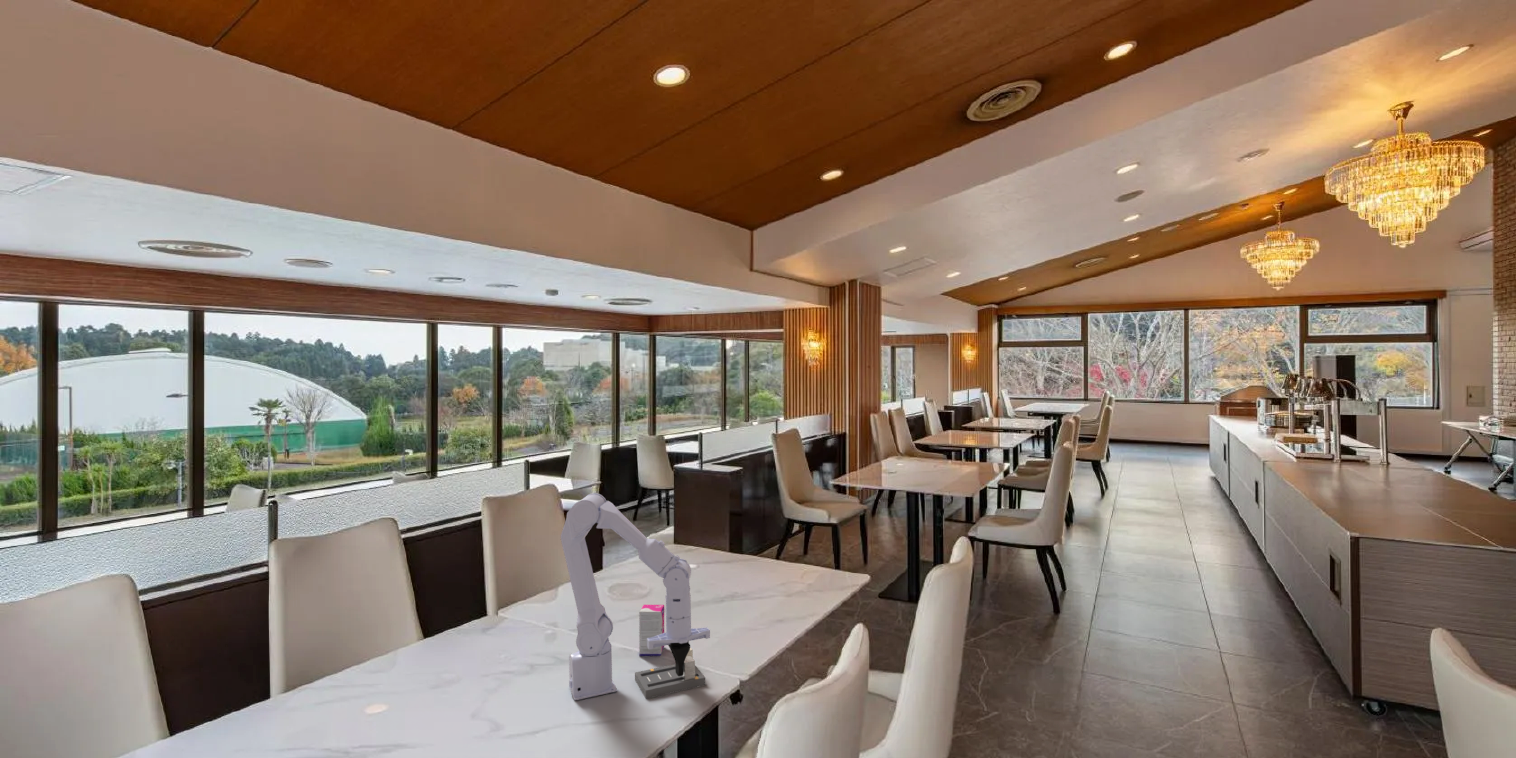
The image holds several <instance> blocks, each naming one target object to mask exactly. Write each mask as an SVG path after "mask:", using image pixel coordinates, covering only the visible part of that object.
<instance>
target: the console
mask: <svg viewBox="0 0 1516 758" xmlns="http://www.w3.org/2000/svg"><path fill="white" fill-rule="evenodd" d="M634 681H635V683H636V684H637V686H638V688H639V689H640V691H641V693H642V694H643V696H644V698H645V700H646V699H647V700H648V699H650V698H651V699H652V698H656V697H659V696H664V695H668V694H672V693H677V692H682V691H686V690H691V689H696V688H699V687H703V686H704V687H705V686H706V685H707V684H706V676H705V675H704V673H702V672H701V670H700V669H699V668H698V667H697V665H695V678H694V679H689V680H684V678H683V677H682V676H678V675H677V674H676V670H675V664H674V663H673V664H669V665H664V666H660V667H655V668H650V669H646V670H642V671H641V670H640V671H636V672H635V671H634Z"/></svg>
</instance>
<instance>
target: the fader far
mask: <svg viewBox="0 0 1516 758" xmlns="http://www.w3.org/2000/svg"><path fill="white" fill-rule="evenodd" d="M693 654H694V651H693V648H691V646H690V650H689V652H688V654H687V656H691V657H692V658H693V659H694V656H693ZM687 656H686V657H687Z"/></svg>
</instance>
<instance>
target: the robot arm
mask: <svg viewBox="0 0 1516 758" xmlns="http://www.w3.org/2000/svg"><path fill="white" fill-rule="evenodd" d="M595 524H597V525H596V527H595V528H596V529H603V530H605V529H608V530H609V529H610V530H612V531H613V532H615V533H616V534H617V536H620V538H622V539H623V540H624V541H626V542H627V543H629V544H630V546H632V547H633V548H635V549H636V550H637V552H638V559H639V560H640V561H641V562H642V563H643V564H644V565H646V566H647V567H648V568H649V569H650V570H652V571H653V573H654V574H656V575H657V576H658V577H660V578H662V582H663V585H664V587H665V594H666V595H665V628H666V629H665V630H666V631H665V632H664V633H663V634H660V635H657V636H654V637H651V638H647V647H648V649H649V650H651V649H654V648H655V647H660V646H664V647H665V646H668V647H669V650H670V651H671V654H672V656H673V659H674V661H675V670H676V674H677V675H678V676H683V664H684V661H685V658H686V656H687V654H688V652H689V650H690V647H691V644H690V641H697V640H700V639H706V640H707V639H711V629H709V627H708V626H706V627H705V626H704V627H696V628H694V627H692V607H691V606H692V603H691V602H692V600H691V599H692V597H691V592H690V591H691V587H690V580H691V575H692V569H691V566H690V564H689V563H688V561H687V560H686V559H685V558H681V557H680V556H679V555H675V554H674V553H673V552H671V550H669V549H668V548H667V547H666V546H665V544H666V543H665V542H664V541H663V540H662V539H660V540H658V539H657V538H647V537H646V536H645V534H643V532H641V531H640V530H639V529H638V528H637V526H636V525H634V524H633V522H631V521H630V520H629V519H628V518H627V517H626V516H625V515H624V514H623V513H622V512H621V511H620V510H619V509H618V508H617V507H616V505H614V503H613V502H611V501H609V500H606V497H604V496H603V495H602V494H600V493H597V492H593V493H589V494H586V496H584V497H583V498H582V499H580V500H579V501H577V502H574V504H573V505H572V506H571V507H570V509H569V510H568V511H567V513H566V518H565V522H564V525H563V528H562V530H561V533H560V541H561V546H562V551H563V555H564V559H565V564H566V567H567V571H568V575H569V581H570V583H571V587H572V592H573V597H574V600H575V606H576V609H577V618H576V628H577V630H576V631H577V635H576V640H575V642H576V643H575V644H576V647H577V649H578V651H576V652H573V653H571V654H569V656H568V669H569V670H568V673H569V675H568V676H569V680H568V683H569V684H568V685H569V689H570V692H571V695H572V698H573V701H578V700H584V699H588V698H592V697H597V696H601V695H606V694H610V693H615V692H617V690H618V689H617V686H616V684H615V683H614V681H613V662H612V661H613V660H612V657H613V656H612V643H611V641H610V639H609V637H610V636H611V635H612V632H613V630H614V624H613V622H612V619H611V618H610V616H608V614H607V612H606V609H605V607H604V605H602V603H601V601H600V597H599V596H600V595H599V592H598V587H597V584H596V580H595V574H594V572H593V571H594V570H593V565H592V563H591V558H590V555H589V550H588V545H587V542H586V536H587V535H588V533H589V532H590V530H592V528H593V526H594V525H595Z"/></svg>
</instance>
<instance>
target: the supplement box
mask: <svg viewBox="0 0 1516 758" xmlns="http://www.w3.org/2000/svg"><path fill="white" fill-rule="evenodd" d="M638 616H639V621H638V622H639V626H638V627H639V628H638V629H639V632H638V633H639V634H638V637H639V641H638V643H639V647H638V648H639V650H638V653H639V655H638V656H639V657H660V656H662V654H663V651H664V649H665V646H660V647H655V648H654V649H651V650H649V649H648V647H647V638H651V637H654V636H657V635H660V634H663V633H665V605H664V604H643V605H642V606H641V609H640V610H639V615H638Z"/></svg>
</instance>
